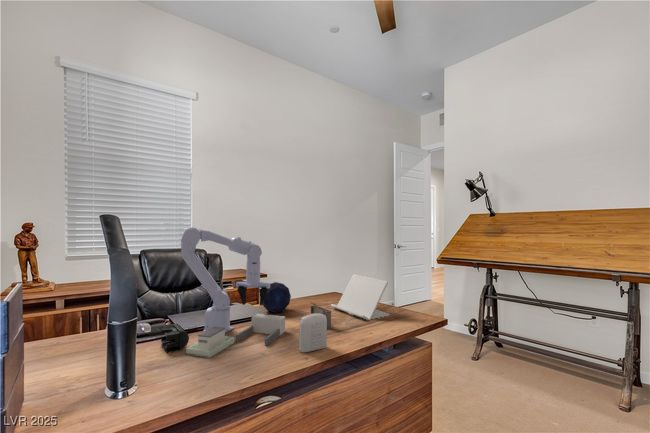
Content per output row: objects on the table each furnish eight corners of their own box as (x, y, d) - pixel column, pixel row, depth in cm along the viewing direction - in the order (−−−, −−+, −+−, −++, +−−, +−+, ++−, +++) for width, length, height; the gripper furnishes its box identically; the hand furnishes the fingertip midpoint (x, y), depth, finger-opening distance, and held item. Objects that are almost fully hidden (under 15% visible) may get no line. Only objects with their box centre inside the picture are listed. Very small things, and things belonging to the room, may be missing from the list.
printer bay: (236, 341, 122) (236, 325, 122) (257, 328, 137) (257, 313, 137) (266, 345, 118) (266, 329, 118) (285, 331, 134) (285, 316, 134)
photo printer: (321, 344, 120) (322, 310, 120) (328, 348, 117) (328, 313, 117) (297, 350, 115) (297, 314, 115) (303, 354, 111) (303, 317, 111)
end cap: (188, 349, 114) (189, 329, 114) (166, 354, 110) (167, 333, 110) (181, 340, 122) (181, 322, 122) (160, 344, 118) (161, 325, 118)
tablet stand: (356, 304, 179) (356, 273, 179) (390, 315, 159) (391, 280, 159) (330, 309, 168) (330, 276, 168) (363, 322, 148) (363, 284, 148)
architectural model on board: (309, 323, 146) (309, 301, 146) (315, 322, 148) (315, 300, 148) (325, 330, 137) (325, 307, 137) (330, 329, 139) (331, 306, 139)
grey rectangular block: (196, 351, 111) (196, 334, 111) (213, 341, 120) (214, 326, 120) (208, 353, 110) (208, 336, 110) (224, 342, 119) (225, 327, 119)
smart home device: (188, 327, 133) (131, 335, 123) (188, 331, 133) (131, 339, 123) (186, 321, 140) (132, 328, 130) (186, 325, 140) (131, 333, 130)
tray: (186, 354, 110) (186, 348, 110) (212, 339, 123) (212, 334, 123) (210, 357, 107) (210, 351, 107) (234, 342, 120) (234, 337, 120)
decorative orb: (300, 298, 168) (283, 274, 170) (290, 305, 153) (272, 279, 155) (279, 313, 170) (263, 289, 172) (267, 322, 156) (250, 295, 158)
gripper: (233, 273, 136) (232, 306, 136) (266, 274, 134) (266, 307, 134) (239, 270, 143) (239, 301, 143) (271, 271, 141) (271, 303, 141)
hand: (252, 304), depth 139 cm, fingers open, 7 cm apart
